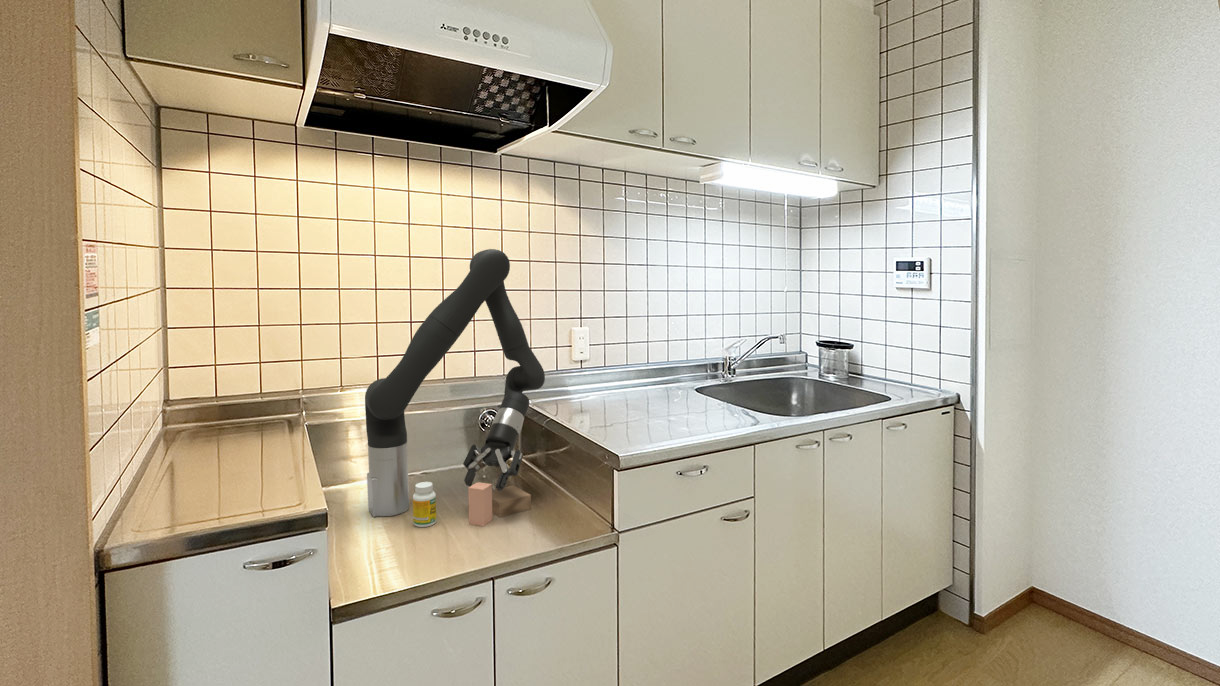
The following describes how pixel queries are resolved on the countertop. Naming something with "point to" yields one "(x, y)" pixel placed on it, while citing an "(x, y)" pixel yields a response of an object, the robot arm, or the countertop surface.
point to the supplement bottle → (424, 505)
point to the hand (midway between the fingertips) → (482, 487)
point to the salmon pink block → (480, 504)
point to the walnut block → (510, 501)
